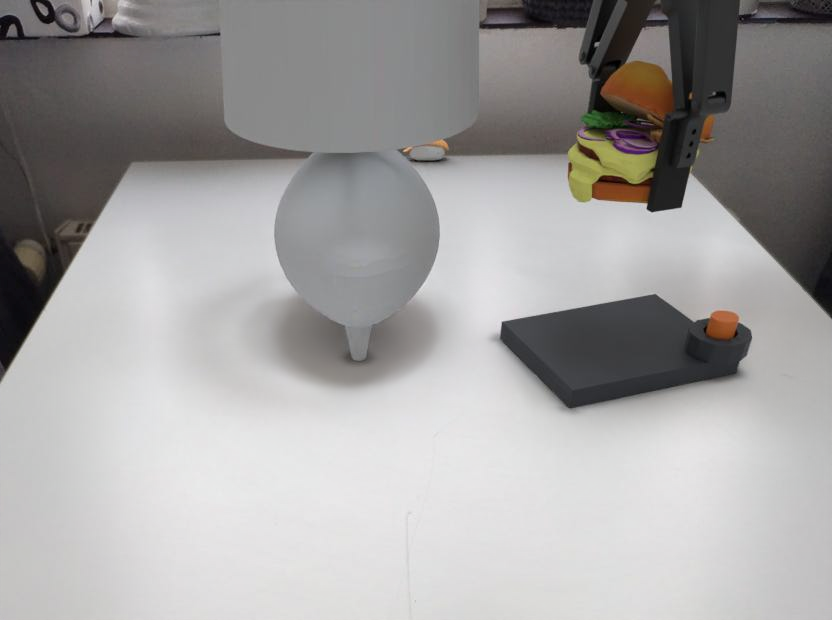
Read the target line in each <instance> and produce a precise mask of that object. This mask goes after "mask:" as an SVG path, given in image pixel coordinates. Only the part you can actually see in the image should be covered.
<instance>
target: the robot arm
mask: <svg viewBox="0 0 832 620" xmlns="http://www.w3.org/2000/svg"><path fill="white" fill-rule="evenodd" d="M657 1H658V0H593V1H592V5H591V8H590V12H589V15H588V19H587V23H586V27H585V30H584V34H583V37H582V41H581V44H580V48H579V53H578V62H579V64H580V65H581V66H584V65H586V66H587V68H588V70H587V72H588V73H587V74H588V78H589V79H590V80H591V84H590V91H589V98H588V99H589V100H588V104H587V105H588V106H587V111H586V113H588V114H591V115H593V114H592V111H593V110H596V111H598V112H600V113H604V112H620V111H618V110H616V109H615V108H614V107H613V106H612V105H610V104H609V103H608V102H607V101H606V100H605V99H604V98H603V96H602V95H601V94H600V93H601V90H602V87H603V86H604V85H605V83H606V82H607V80H608V79H609V78H610V76H611V75H612V74H613V73H615V72H616V71H617V70H618V69H619V68H620V67H621V66H623V65H624V64H626V63H627V61H628V59H629V57H630V55H631V53H632V51H633V49H634V47H635V45H636V43H637V41H638V39H639V37H640V35H641V33H642V31H643V29H644V26H645V24H646V22H647V20H648V18H649V16H650V14H651V12H652V9H653V7H654V6H655V3H656V2H657ZM659 1H660V10H661V12H662V14H663V15H664V16H665V17H666V18H667V25H668V26H667V27H668V38H669V39H668V42H669V56H670V57H669V59H670V72H671V81H672V88H673V102H674V110H672V111H671V112H669V113H668V114H665V120H664V125H663V130H662V135H661V140H660V144H659V149H658V154H657V159H656V164H655V169H654V174H653V179H652V184H651V189H650V193H649V198H648V203H647V204H646V211H648V212H651V213H656V212H657V213H658V212H663V211H668V210H669V211H670V210H676V209H681V208H682V207H683V202H684V198H685V195H686V190H687V185H688V181H689V178H688V177H690V175H689V173H690V168H691V166H693V167H694V164H695V162H696V159H697V158H696V155H697V150H698V147H699V148H700V144H701V143H700V138H701V134H702V130H703V125H704V122H705V120H706V118H707V117H708V116H710V115H714V116H715V115H719V114H725V113H727V112H728V111H729V110H730V108H731V106H732V105H731V104H732V97H733V87H734V74H735V66H736V65H735V62H736V54H737V42H738V41H737V40H738V29H739V18H740V6H741V0H659ZM596 43H598V45H596ZM690 93H692V99H689V96H690ZM714 93H715V94H714ZM620 113H622V112H620ZM586 125H588V124H585V126H586ZM690 174H691V173H690Z"/></svg>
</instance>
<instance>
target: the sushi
mask: <svg viewBox="0 0 832 620" xmlns="http://www.w3.org/2000/svg"><path fill="white" fill-rule="evenodd" d="M449 150H450V148H449V145H448V143H447V142H446V141H445V139H442V140H439V141H436V142H432V143H428V144H424V145H419V146H414V147H408V148H404V150H403V151H402V152H403V153H407V152H409V156H410V159H413V160H416V161H420V162H421V161H438V160H441V159H443V158H444V157H445V154H446V153H445V152H446V151H447V152H449Z"/></svg>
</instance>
